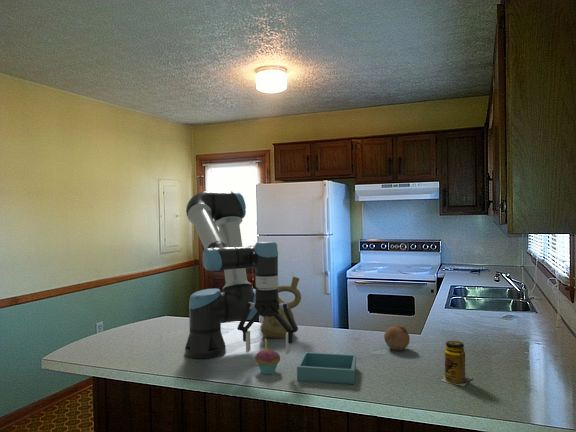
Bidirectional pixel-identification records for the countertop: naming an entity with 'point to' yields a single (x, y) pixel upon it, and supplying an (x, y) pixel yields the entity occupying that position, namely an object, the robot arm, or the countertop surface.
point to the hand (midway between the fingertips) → (267, 352)
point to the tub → (327, 368)
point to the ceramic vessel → (281, 313)
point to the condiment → (455, 364)
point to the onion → (397, 337)
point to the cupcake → (267, 360)
